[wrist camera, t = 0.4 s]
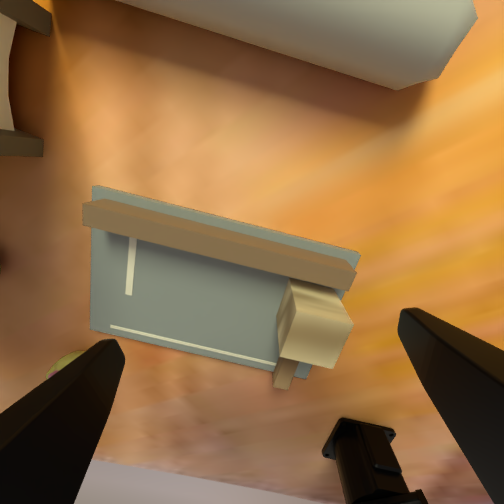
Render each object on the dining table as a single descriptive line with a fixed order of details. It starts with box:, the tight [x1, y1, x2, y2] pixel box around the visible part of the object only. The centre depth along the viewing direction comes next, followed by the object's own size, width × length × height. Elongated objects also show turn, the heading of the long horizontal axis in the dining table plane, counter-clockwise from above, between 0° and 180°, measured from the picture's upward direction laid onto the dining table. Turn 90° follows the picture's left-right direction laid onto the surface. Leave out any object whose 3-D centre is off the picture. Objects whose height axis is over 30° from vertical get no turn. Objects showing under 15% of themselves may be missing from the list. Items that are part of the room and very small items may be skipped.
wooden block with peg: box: [272, 278, 354, 390], centre depth 20 cm, size 10×4×5 cm, turn 166°
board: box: [83, 185, 361, 379], centre depth 21 cm, size 14×22×3 cm, turn 76°
